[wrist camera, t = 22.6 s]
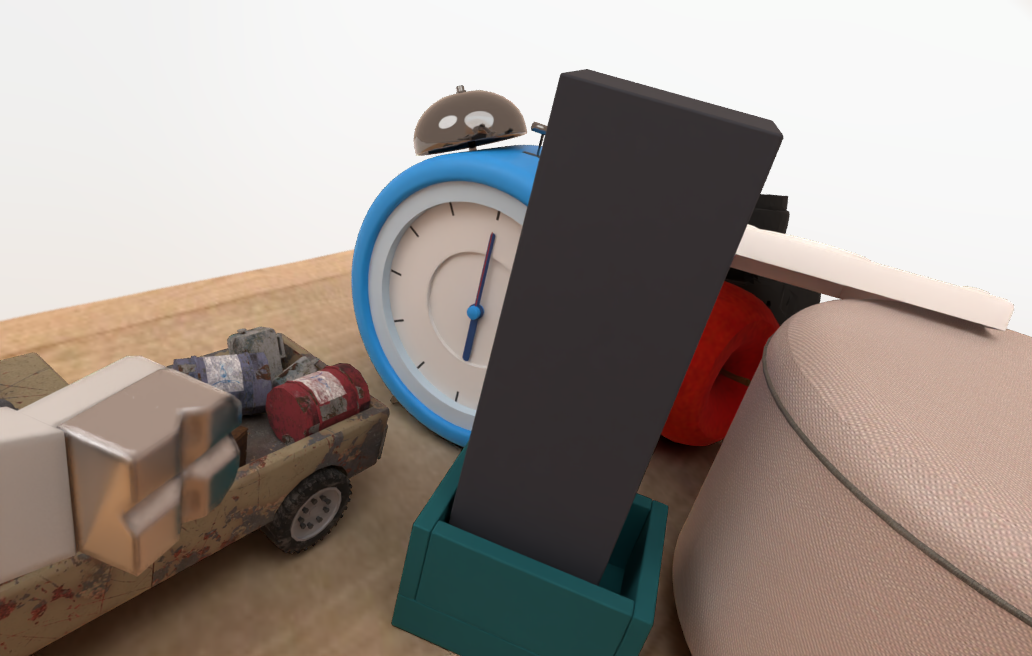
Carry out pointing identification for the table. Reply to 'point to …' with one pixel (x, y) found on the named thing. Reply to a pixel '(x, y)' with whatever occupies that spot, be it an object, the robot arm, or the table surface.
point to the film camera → (772, 292)
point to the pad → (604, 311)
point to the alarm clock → (444, 258)
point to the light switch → (861, 277)
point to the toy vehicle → (251, 499)
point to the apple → (721, 368)
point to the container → (868, 494)
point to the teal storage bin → (526, 589)
